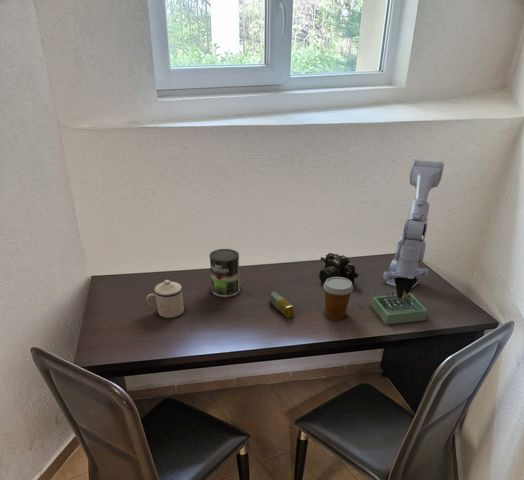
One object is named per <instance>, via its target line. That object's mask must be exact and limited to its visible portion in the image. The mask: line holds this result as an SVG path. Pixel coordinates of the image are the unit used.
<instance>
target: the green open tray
mask: <svg viewBox="0 0 524 480" xmlns="http://www.w3.org/2000/svg"><path fill="white" fill-rule="evenodd" d="M387 297H388V295H382V296H373V297H372V302H371V307H372V308H373V310H374V311H375V312H376V314H377V315H378V316H379V318H380V319H381V320H382V321H383V323H384V324H385V325H393V324H402V323H411V322H420V321H426V320H427V316H428V309H427V308H426V307H425V306H424V305H423V304H422V303H421V302H420V301H419V300H418V298H416V297H415V296H414V295H413V293H411V292H409V293H408V298H409V299H410V300H411V301H412V302H413V301H414V299H415V303H414V304H415V305H416V306H417V308H414V309H405V310H396V311H392V310H391V309H390V307H389V306H388V305H387V304H386V302H385V301H384V299H387ZM391 297H392V294H391V295H390V294H389V298H391ZM396 297H397V294H393V298H396ZM402 297H403V296H402ZM392 301H393V302H394V303H395V304H396V302H397V301H396V300H392ZM398 301H399V302H400V303H401V301H402V300H401V299H400V300H398ZM388 302H389V303H390V305H391V306H392V307H393V308H395V306H394V305H393V303H392V302H391V301H388ZM405 302H406V303H407V304H408V305H409V301H408V300H407V299H406V301H405ZM402 305H403V301H402ZM397 306H398V308H400V305H399V303H398V304H397ZM411 306H412V305H411V304H410V307H411ZM404 307H407V305H406V304H405V305H404Z"/></svg>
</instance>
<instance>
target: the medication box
mask: <svg viewBox="0 0 524 480" xmlns="http://www.w3.org/2000/svg"><path fill="white" fill-rule="evenodd" d="M269 299H270V303H271V304H272V305H273V306H274V307H275V308H276V309H277V310H278V311H280V313H282V314H283V315H284V316H285V318H291V317H293V316H294V315H295V314H294V305H292V304H291V303H290V302H289V301H288V300H286V298H284V297H283V296H282V295H281V294H279V293H278V292H277V291H276V290H275V291H272V292H270V293H269Z"/></svg>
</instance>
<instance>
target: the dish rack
mask: <svg viewBox="0 0 524 480" xmlns="http://www.w3.org/2000/svg"><path fill="white" fill-rule="evenodd" d="M390 293H391V292H390V291H387V296H388V297H387V299H384V301H385V302H386V304H387V305H388V306H389V307H390V309H391V310H392V311H396V310H405V309H414V308H417V306H416V305H415V304H414V303H415V299H414V301H413V302H412V301H411V300H410V299H409V298H408V295H407V293H406V292H405V291H404V290H403V294H402V296H403V297H402V298H398V296H397V297H396V298H393V295H394V293H395V291H394V290H392V293H391V295H392V297H391V298H389V296H390ZM400 299H401V300H402V301H403V305H402V301H401V303H400V302H399V301H398V300H400ZM406 299H407V300H408V301H409V305H408V304H407V303H406V302H405V301H406ZM392 300H396V301H397V302H396V304H395V303H394V302H393V301H392ZM388 301H391V302H392V303H393V305H394V306H395V308H393V307H392V306H391V305H390V303H389V302H388ZM398 303H399V305H400V308H398V306H397V304H398ZM405 304H406V305H407V307H404V305H405ZM410 304H411V305H412V306H411V307H410Z"/></svg>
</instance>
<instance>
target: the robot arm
mask: <svg viewBox="0 0 524 480" xmlns="http://www.w3.org/2000/svg"><path fill="white" fill-rule="evenodd" d="M444 167H445V163H444V161H441V162H440V161H430V160H420V159H419V160H418V159H413V161H412V163H411V167H410V172H409V185H411V186H413V187H414V190H415V193H414V199H413V201H411V202H410V204H409V208H408V212H407V213H408V214H407V218H406V221H405V222H404V225H403V230H402V231H403V232H402V237H400V238H399V239H398V240H397V244H396V248H395V255H394V258H393V259H392V260H391V262H390V264H389V267H388V271H383V275H382V277H383V279H384V280H385V284H386V285H391V286H394V287H395V288H396V295H397V296H398V298H402V294H403V290H404V291H405V292H406V293H407V295H408V294H409V293H410V292H411V290H412V289H413V288H414V287H415V286H416V285H417V284H419V282H418V278H417V277H420V276H421V277H422V276H424V277H428V276H429V272H430V270H429V269H428V268H427V267H419V265H421V264H422V263H423V262H424V257H425V252H426V246H427V243H426V240H425V239H426V235H427V230H428V217H429V212H430V211H429V210H430V203H429V202H428V197H429V194H430V192H431V190H432V189H434V188H438V186H439V185H440V182H441V180H442V177H443V173H444V172H443V171H444Z"/></svg>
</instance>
